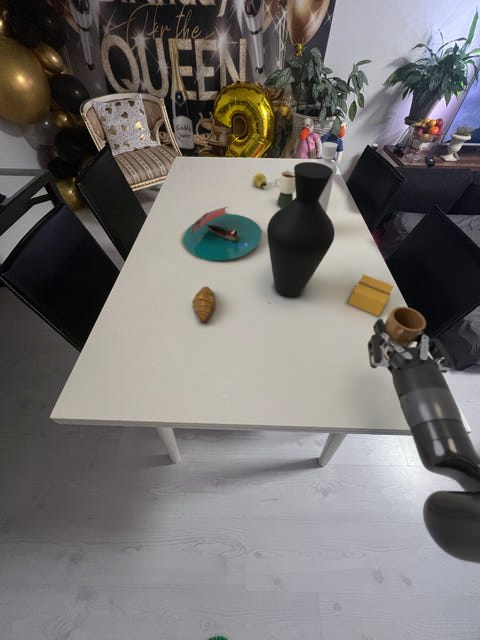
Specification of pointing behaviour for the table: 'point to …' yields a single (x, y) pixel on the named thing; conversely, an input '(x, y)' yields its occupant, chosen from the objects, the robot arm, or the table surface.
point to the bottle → (327, 156)
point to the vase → (300, 231)
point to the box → (371, 294)
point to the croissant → (204, 304)
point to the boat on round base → (222, 236)
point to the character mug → (285, 187)
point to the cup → (404, 326)
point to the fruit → (259, 180)
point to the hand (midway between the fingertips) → (395, 322)
